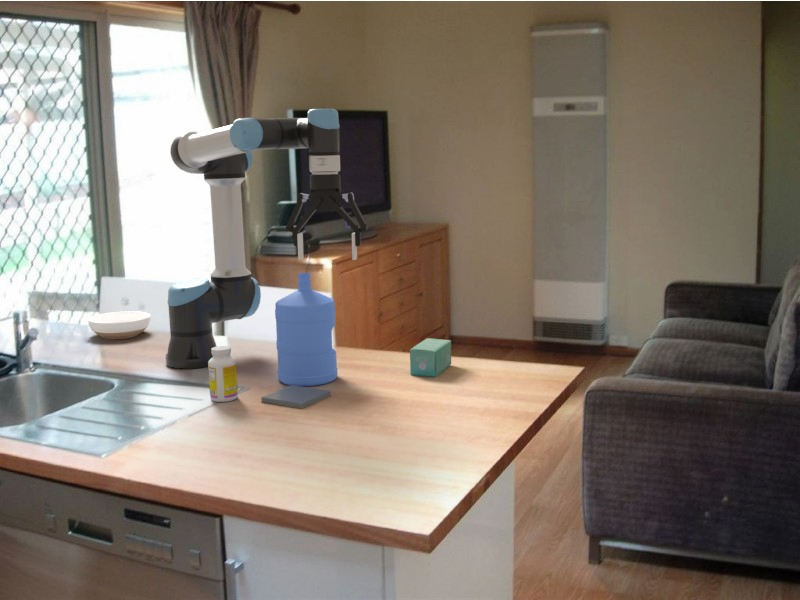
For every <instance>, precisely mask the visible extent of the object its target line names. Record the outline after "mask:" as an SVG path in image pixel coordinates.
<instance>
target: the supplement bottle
mask: <svg viewBox="0 0 800 600" xmlns="http://www.w3.org/2000/svg"><path fill="white" fill-rule="evenodd" d="M216 346H217V345H216ZM211 353H212V355H213V358H211V359H210V360H209V362H208V366H207V367H208V370H207V371H208V382H209V396H210V399H211V400H212V401H213V402H215V403H216V402H218V403H226V402H232V401H235V400H236V399H237V398H238V397H239V394H238V393H239V391H238V390H239V389H238V377H237V363H236V362H237V361H236V358H235V357H233V356H231V354H232V348H231V346H229V345H218V346H217V347H213V348H212V349H211Z"/></svg>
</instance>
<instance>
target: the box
mask: <svg viewBox="0 0 800 600" xmlns="http://www.w3.org/2000/svg"><path fill="white" fill-rule="evenodd" d="M409 361H410V363H409V364H410V365H409V366H410V372H409V373H410V376H415V377H419V376H420V377H427V376H428V378H429V377H430V378H437V377H439V375H441V374H442V373H443V372H445V370H446V368H447V367H448V368H449V367H450V366H451V365H452V340H451V339H442V338H441V339H440V338H439V339H438V338H428V337H427V338H425V339H424V340H422V341H421V342H418V343H417V344H415V345H414V346H413V347H412V348H410V351H409ZM448 368H447V369H448ZM441 372H442V373H441ZM440 373H441V374H440ZM436 376H437V377H436Z"/></svg>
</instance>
